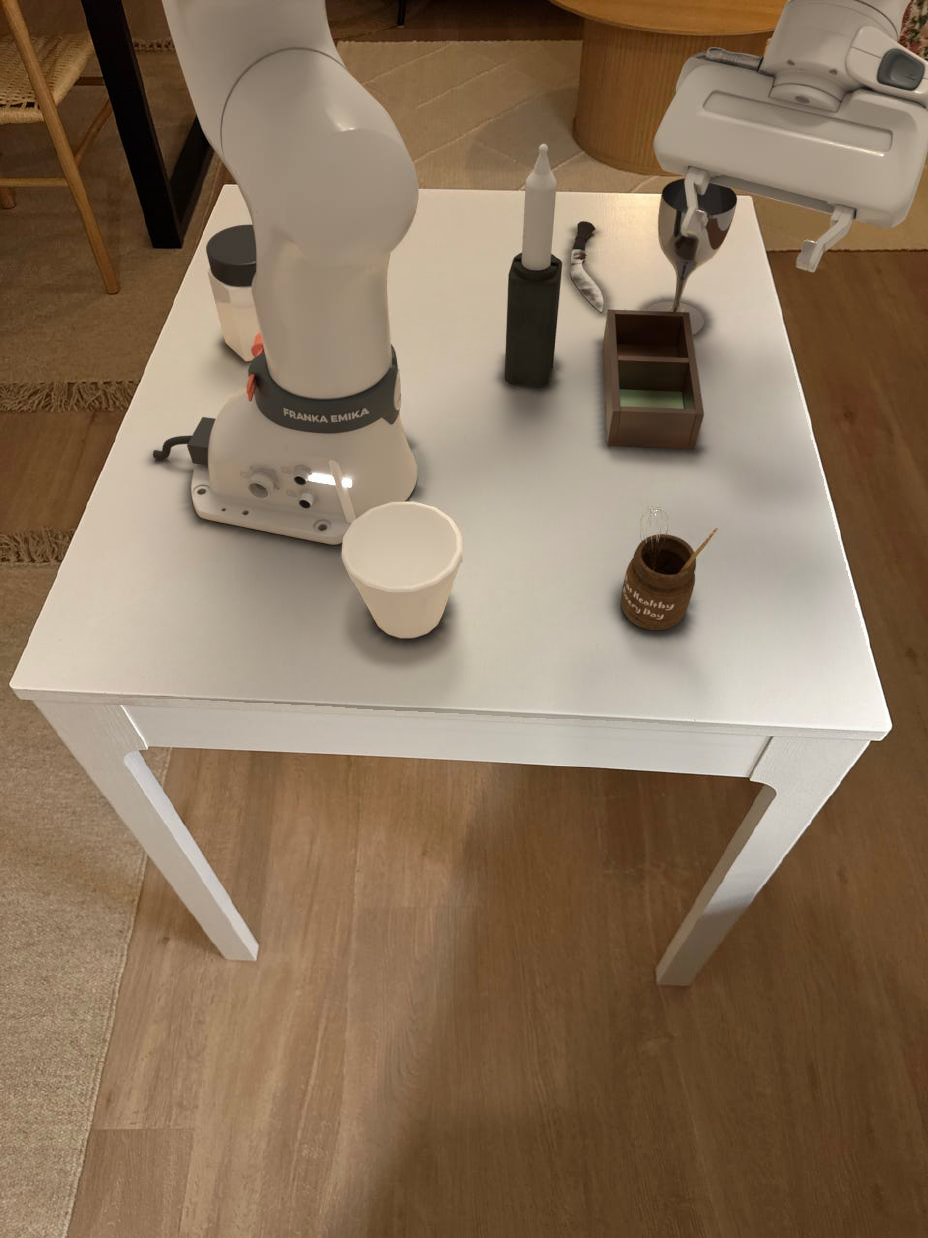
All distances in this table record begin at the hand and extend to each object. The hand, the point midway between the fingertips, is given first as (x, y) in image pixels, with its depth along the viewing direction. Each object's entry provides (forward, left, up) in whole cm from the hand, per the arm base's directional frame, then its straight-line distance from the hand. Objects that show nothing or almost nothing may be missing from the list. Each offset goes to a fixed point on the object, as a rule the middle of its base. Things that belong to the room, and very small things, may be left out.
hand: (745, 251), depth 71 cm
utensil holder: (-4, -17, -25) cm, 30 cm away
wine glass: (+1, +27, -25) cm, 37 cm away
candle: (-16, +16, -25) cm, 34 cm away
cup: (-26, -19, -25) cm, 41 cm away
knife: (-9, +37, -25) cm, 46 cm away
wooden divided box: (-3, +13, -25) cm, 28 cm away
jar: (-47, +20, -25) cm, 57 cm away
